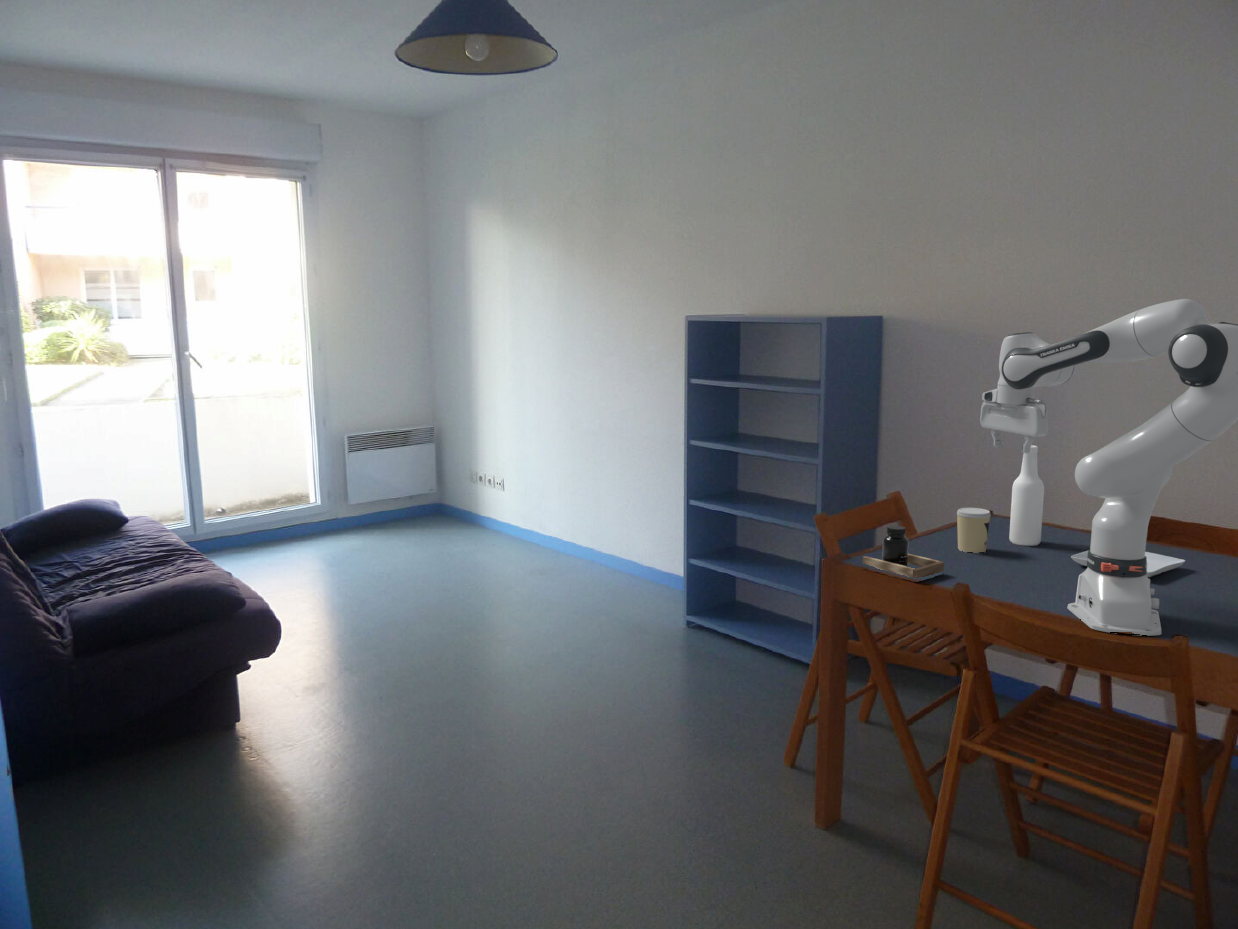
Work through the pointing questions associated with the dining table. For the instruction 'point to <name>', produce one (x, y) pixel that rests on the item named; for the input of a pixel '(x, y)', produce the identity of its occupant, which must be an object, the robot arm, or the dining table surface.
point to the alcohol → (1027, 503)
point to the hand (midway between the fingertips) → (1011, 449)
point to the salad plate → (1154, 562)
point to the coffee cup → (973, 529)
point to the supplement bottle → (895, 546)
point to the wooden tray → (924, 570)
